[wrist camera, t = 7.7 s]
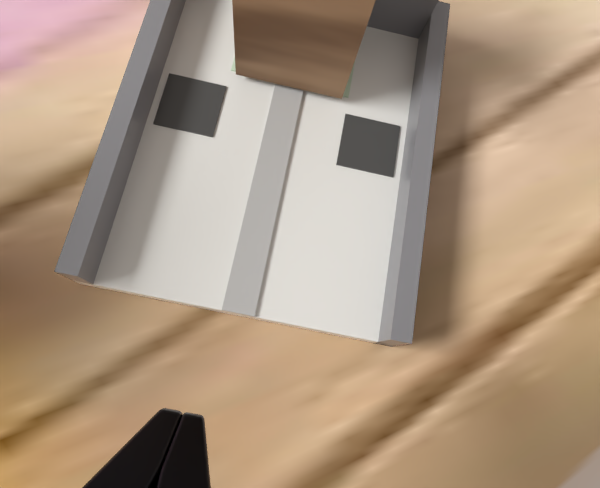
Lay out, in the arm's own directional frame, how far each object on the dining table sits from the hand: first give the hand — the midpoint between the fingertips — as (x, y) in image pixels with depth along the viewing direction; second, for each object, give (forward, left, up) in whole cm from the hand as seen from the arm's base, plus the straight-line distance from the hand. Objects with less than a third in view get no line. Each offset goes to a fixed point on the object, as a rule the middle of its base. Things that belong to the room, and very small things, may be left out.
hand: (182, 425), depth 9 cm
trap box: (+11, -7, -13) cm, 19 cm away
